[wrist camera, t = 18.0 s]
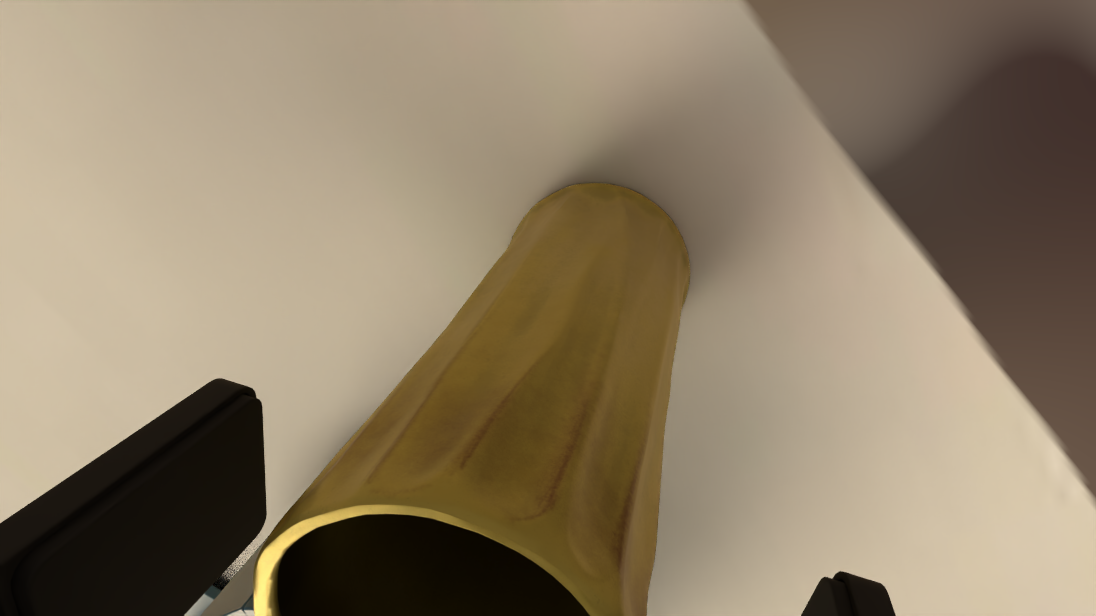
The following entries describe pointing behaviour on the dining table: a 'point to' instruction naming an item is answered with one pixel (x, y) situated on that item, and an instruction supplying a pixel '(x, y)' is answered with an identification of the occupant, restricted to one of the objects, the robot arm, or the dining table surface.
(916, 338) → the dining table surface
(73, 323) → the dining table surface
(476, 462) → the vase
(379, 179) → the dining table surface
